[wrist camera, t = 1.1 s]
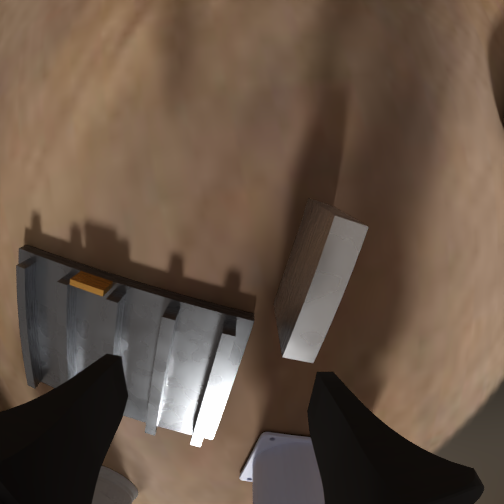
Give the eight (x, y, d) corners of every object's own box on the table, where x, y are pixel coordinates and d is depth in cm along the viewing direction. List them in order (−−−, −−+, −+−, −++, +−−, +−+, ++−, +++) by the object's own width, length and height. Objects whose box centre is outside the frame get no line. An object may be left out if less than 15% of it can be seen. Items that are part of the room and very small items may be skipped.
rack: (253, 313, 20) (254, 333, 18) (213, 431, 24) (211, 453, 21) (26, 244, 19) (6, 254, 17) (32, 368, 22) (19, 384, 20)
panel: (332, 205, 19) (368, 226, 13) (296, 309, 21) (313, 363, 15) (308, 197, 19) (334, 215, 13) (273, 303, 20) (282, 357, 15)
